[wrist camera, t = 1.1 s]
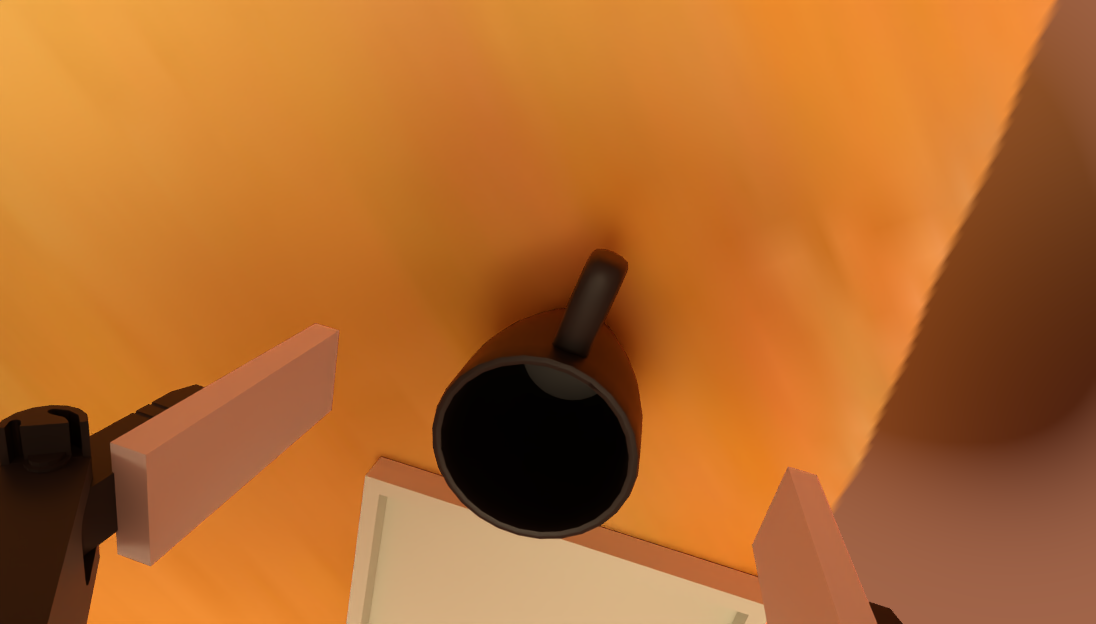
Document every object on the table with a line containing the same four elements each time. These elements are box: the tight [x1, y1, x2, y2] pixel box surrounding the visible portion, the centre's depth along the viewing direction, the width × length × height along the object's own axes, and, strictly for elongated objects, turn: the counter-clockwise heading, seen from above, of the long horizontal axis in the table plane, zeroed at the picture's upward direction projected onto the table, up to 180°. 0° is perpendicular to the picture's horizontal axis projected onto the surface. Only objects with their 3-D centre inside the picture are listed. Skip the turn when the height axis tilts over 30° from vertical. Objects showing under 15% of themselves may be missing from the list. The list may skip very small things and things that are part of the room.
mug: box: [432, 249, 642, 539], centre depth 26 cm, size 8×12×10 cm
